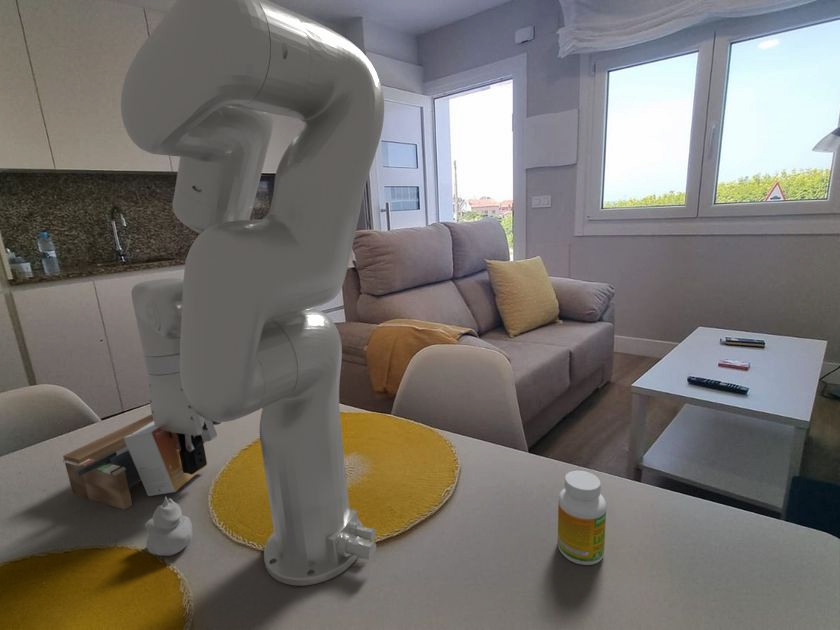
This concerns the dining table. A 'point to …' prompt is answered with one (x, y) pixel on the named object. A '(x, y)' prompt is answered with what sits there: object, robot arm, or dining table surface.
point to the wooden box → (103, 468)
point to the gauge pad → (117, 459)
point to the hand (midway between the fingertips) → (195, 468)
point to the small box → (157, 460)
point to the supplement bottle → (581, 518)
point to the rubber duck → (168, 529)
